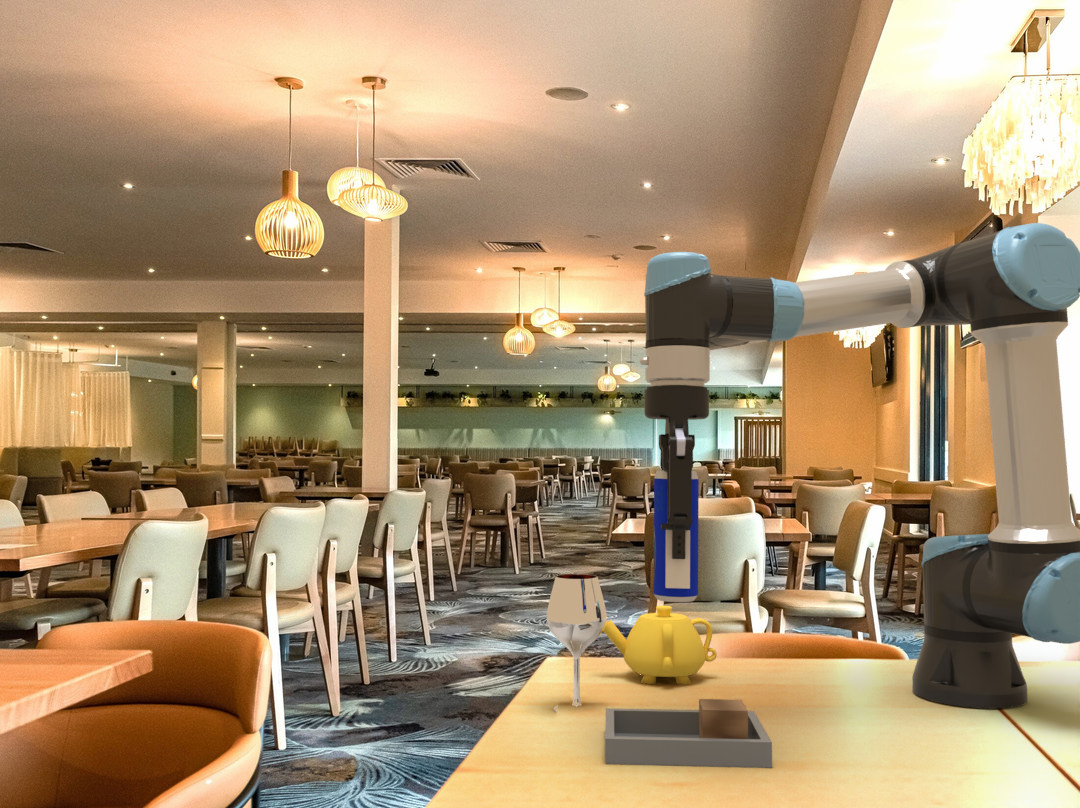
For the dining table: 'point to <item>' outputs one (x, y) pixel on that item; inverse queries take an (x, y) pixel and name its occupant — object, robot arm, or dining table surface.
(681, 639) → the teapot
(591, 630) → the wineglass
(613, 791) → the dining table surface
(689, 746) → the tray
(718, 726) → the walnut block
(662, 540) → the beverage can
